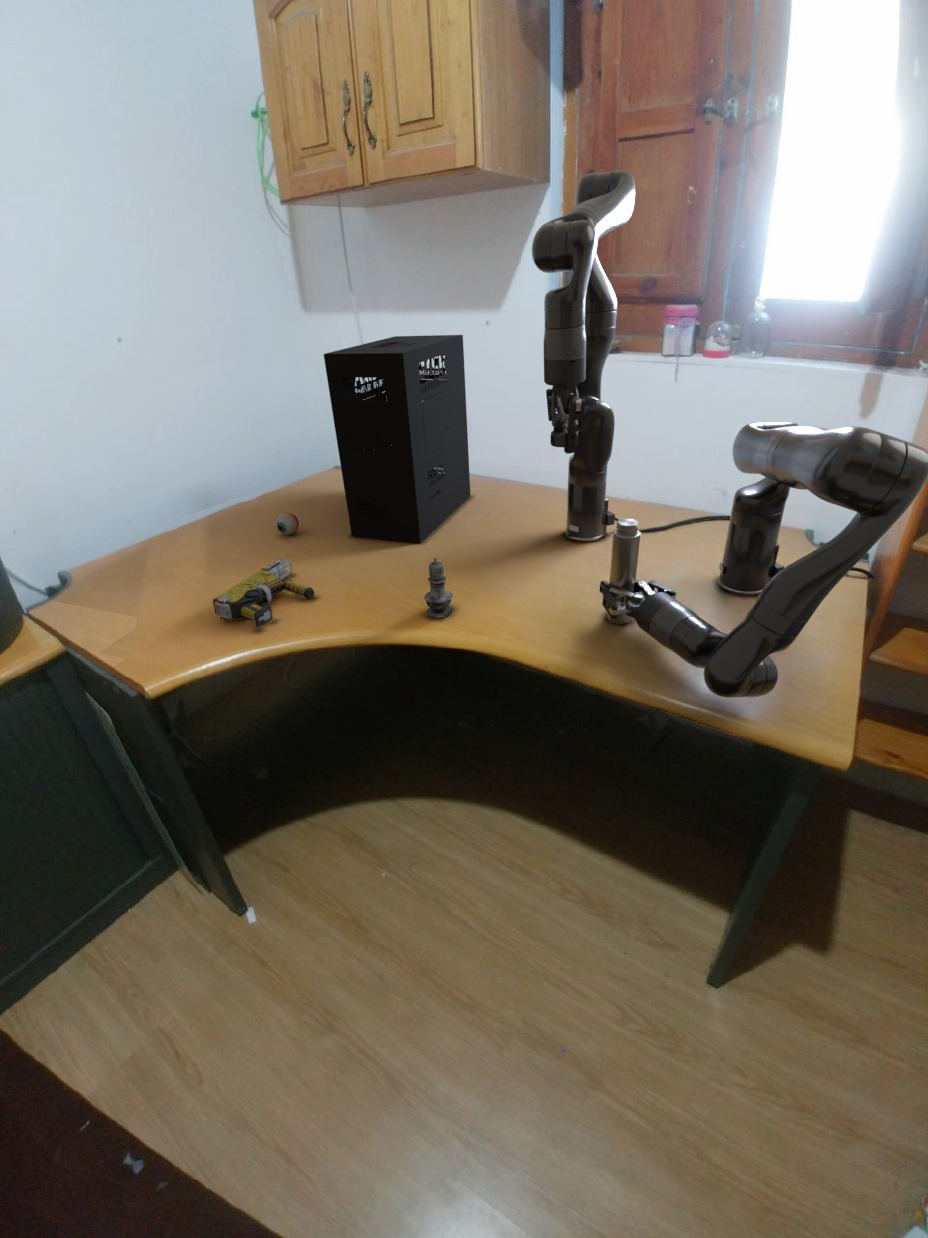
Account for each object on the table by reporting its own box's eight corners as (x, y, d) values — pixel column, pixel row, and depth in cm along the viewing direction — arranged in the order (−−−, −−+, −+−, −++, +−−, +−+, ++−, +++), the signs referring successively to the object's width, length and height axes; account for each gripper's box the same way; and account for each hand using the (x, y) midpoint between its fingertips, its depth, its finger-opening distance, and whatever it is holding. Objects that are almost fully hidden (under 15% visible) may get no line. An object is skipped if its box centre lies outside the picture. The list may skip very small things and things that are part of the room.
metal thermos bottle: (609, 610, 120) (616, 516, 110) (633, 613, 119) (643, 518, 109) (604, 621, 116) (612, 525, 107) (629, 625, 115) (639, 527, 105)
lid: (545, 444, 117) (544, 432, 116) (564, 438, 119) (564, 427, 118) (564, 449, 113) (564, 436, 112) (583, 442, 116) (583, 430, 115)
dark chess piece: (450, 619, 120) (446, 564, 114) (422, 617, 121) (416, 563, 115) (456, 605, 125) (453, 552, 119) (429, 603, 126) (424, 551, 120)
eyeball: (273, 537, 164) (268, 516, 161) (287, 528, 169) (282, 508, 166) (291, 539, 161) (286, 518, 158) (305, 530, 166) (301, 510, 163)
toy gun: (334, 567, 137) (277, 555, 141) (271, 613, 117) (207, 598, 121) (335, 586, 139) (279, 574, 143) (273, 634, 119) (211, 619, 123)
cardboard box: (410, 491, 192) (395, 336, 169) (470, 495, 185) (462, 334, 162) (351, 535, 161) (323, 353, 139) (420, 542, 155) (402, 352, 132)
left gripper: (531, 352, 114) (534, 443, 122) (559, 361, 101) (560, 461, 110) (569, 348, 115) (569, 438, 123) (601, 356, 103) (598, 455, 111)
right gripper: (707, 594, 103) (646, 557, 117) (635, 612, 99) (582, 572, 113) (701, 631, 107) (643, 591, 120) (631, 650, 102) (580, 607, 116)
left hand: (564, 448), depth 117 cm, fingers closed on lid, 5 cm apart
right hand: (614, 582), depth 116 cm, fingers closed on metal thermos bottle, 4 cm apart
